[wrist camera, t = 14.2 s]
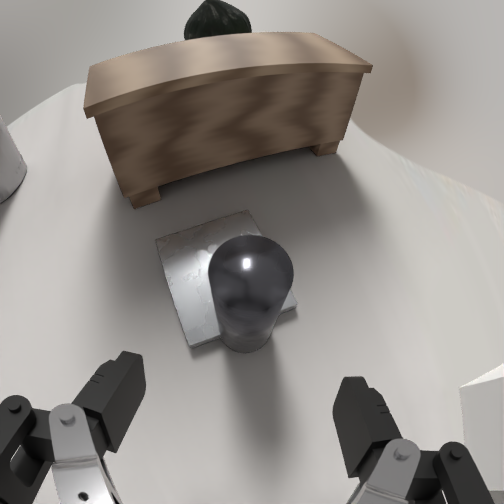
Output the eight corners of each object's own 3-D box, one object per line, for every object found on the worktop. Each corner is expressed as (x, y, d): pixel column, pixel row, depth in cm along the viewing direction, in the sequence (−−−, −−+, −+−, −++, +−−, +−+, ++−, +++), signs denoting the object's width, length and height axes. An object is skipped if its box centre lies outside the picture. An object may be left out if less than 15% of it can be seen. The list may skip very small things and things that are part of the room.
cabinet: (126, 215, 27) (83, 108, 16) (115, 154, 32) (89, 66, 21) (344, 153, 34) (372, 65, 23) (300, 110, 39) (314, 33, 28)
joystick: (200, 372, 20) (172, 343, 11) (157, 245, 25) (127, 164, 17) (306, 328, 22) (350, 272, 14) (247, 216, 28) (253, 130, 19)
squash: (254, 24, 52) (214, -14, 41) (271, 41, 45) (223, -7, 34) (211, 57, 59) (169, 24, 48) (218, 80, 52) (167, 40, 41)
